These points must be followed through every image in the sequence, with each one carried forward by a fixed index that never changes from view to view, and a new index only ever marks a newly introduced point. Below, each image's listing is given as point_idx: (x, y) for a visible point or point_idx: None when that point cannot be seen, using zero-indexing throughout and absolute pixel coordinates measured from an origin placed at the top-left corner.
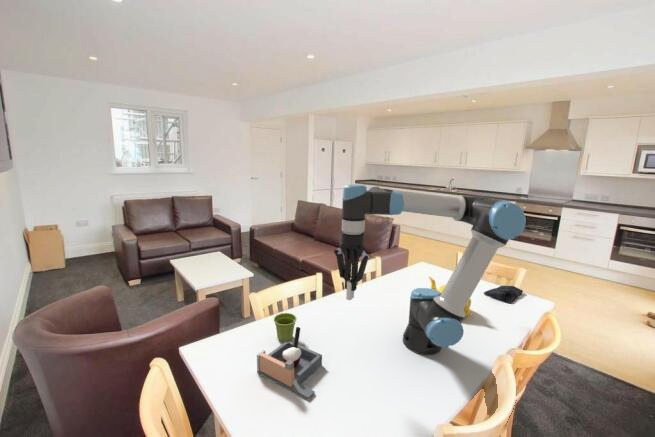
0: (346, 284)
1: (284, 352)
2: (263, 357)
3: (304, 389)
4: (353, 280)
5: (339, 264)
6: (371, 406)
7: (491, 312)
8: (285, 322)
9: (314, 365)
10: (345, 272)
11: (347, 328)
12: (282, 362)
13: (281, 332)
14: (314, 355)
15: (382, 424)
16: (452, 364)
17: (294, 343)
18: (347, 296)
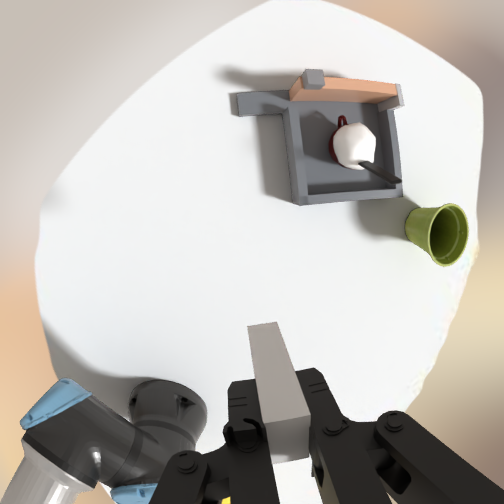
0: (314, 396)
1: (369, 132)
2: (383, 83)
3: (261, 104)
4: (236, 450)
5: (478, 497)
6: (124, 176)
7: None
8: (443, 246)
9: (293, 169)
10: (366, 481)
11: (327, 356)
12: (338, 88)
13: (429, 208)
14: (316, 194)
15: (90, 156)
16: (96, 383)
17: (372, 163)
18: (271, 334)
